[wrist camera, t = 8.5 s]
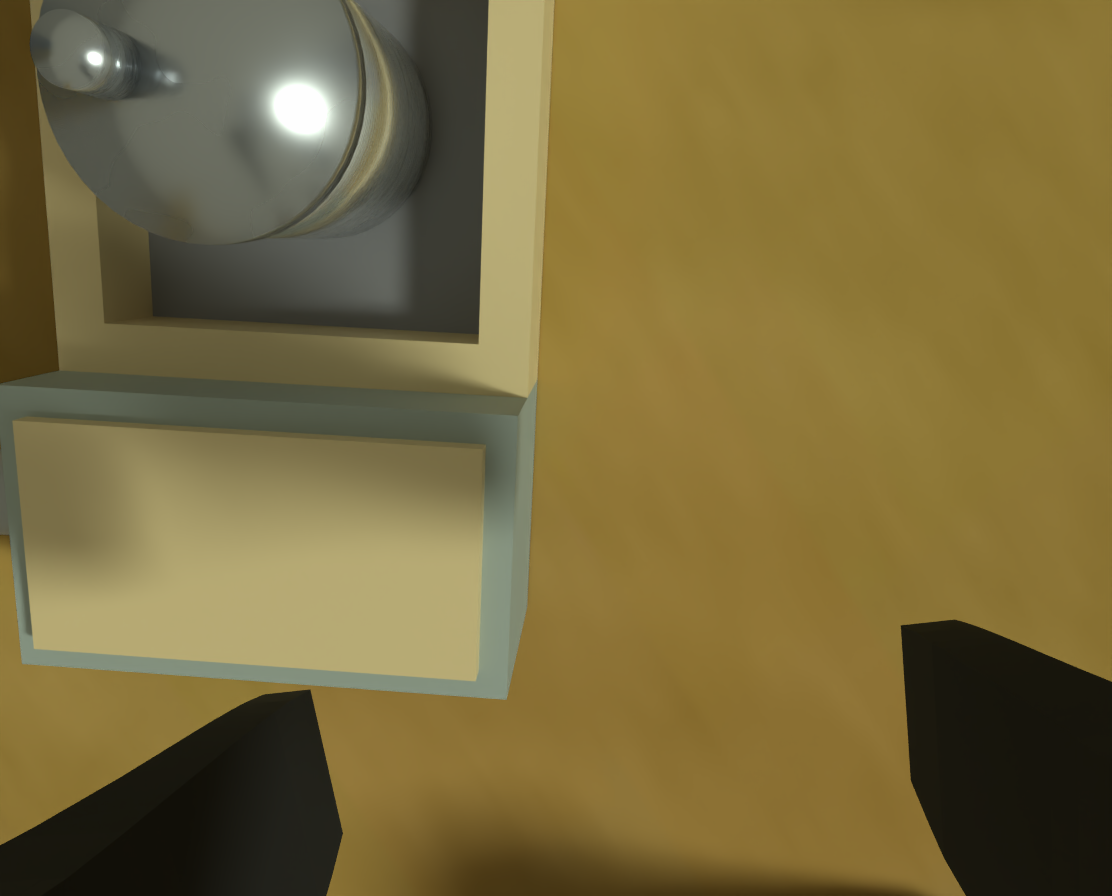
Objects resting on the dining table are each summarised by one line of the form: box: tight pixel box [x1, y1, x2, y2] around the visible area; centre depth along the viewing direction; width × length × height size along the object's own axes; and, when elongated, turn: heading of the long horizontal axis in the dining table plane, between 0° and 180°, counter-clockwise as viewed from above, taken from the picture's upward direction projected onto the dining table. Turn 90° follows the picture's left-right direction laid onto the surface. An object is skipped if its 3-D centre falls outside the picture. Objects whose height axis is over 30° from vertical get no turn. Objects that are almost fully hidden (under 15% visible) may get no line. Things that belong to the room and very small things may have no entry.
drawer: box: [0, 0, 554, 700], centre depth 17 cm, size 12×15×5 cm
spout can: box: [30, 0, 432, 245], centre depth 15 cm, size 5×5×6 cm
